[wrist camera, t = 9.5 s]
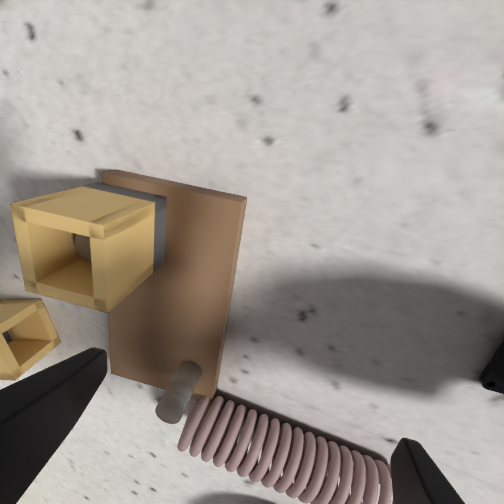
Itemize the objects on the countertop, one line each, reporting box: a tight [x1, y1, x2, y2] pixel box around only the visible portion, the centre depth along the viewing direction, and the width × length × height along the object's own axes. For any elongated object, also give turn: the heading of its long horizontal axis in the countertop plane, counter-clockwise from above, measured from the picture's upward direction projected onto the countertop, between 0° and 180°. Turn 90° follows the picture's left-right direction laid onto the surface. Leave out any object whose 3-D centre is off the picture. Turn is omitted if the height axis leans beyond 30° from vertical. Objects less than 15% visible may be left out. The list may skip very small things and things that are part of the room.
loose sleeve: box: [10, 182, 167, 313], centre depth 17 cm, size 5×5×6 cm
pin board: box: [75, 170, 247, 424], centre depth 20 cm, size 9×17×6 cm, turn 171°
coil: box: [178, 396, 394, 504], centre depth 24 cm, size 5×5×18 cm
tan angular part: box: [0, 299, 61, 381], centre depth 25 cm, size 5×5×6 cm
